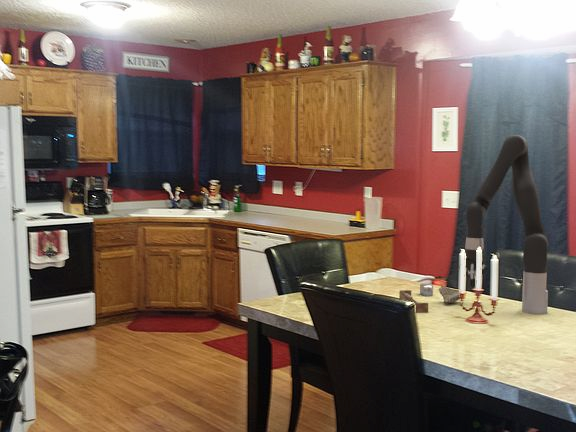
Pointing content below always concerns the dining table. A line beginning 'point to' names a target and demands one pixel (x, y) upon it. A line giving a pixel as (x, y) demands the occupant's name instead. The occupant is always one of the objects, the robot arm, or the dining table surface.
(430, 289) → the tin
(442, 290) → the rock
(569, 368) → the dining table surface
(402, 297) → the stand
